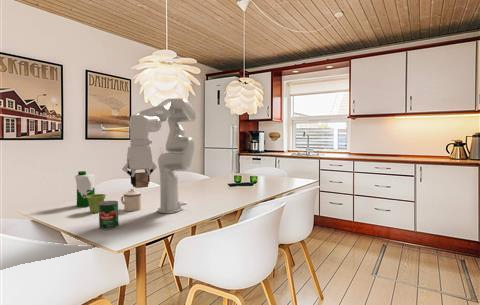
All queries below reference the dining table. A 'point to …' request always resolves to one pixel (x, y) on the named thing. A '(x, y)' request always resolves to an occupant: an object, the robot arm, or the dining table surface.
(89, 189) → the milk carton
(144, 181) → the walnut block
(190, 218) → the dining table surface
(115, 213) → the canned tomato
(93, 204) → the plant pot
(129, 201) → the teacup with lid
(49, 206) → the dining table surface
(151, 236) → the dining table surface
